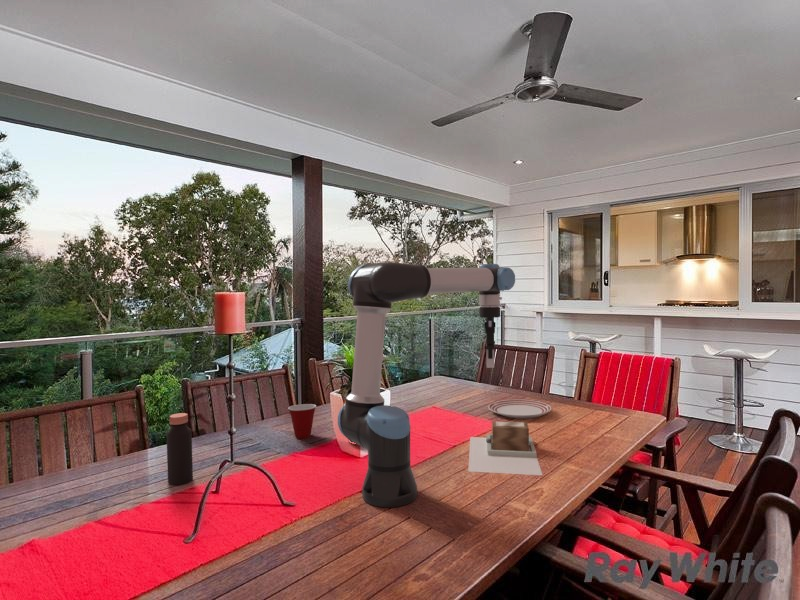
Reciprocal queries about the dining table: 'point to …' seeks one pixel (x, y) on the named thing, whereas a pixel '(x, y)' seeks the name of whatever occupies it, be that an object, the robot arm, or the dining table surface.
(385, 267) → the robot arm
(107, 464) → the dining table surface
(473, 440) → the grey board with frame
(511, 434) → the wooden block
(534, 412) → the dinner plate
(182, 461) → the bottle
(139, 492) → the dining table surface
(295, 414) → the plastic cup
